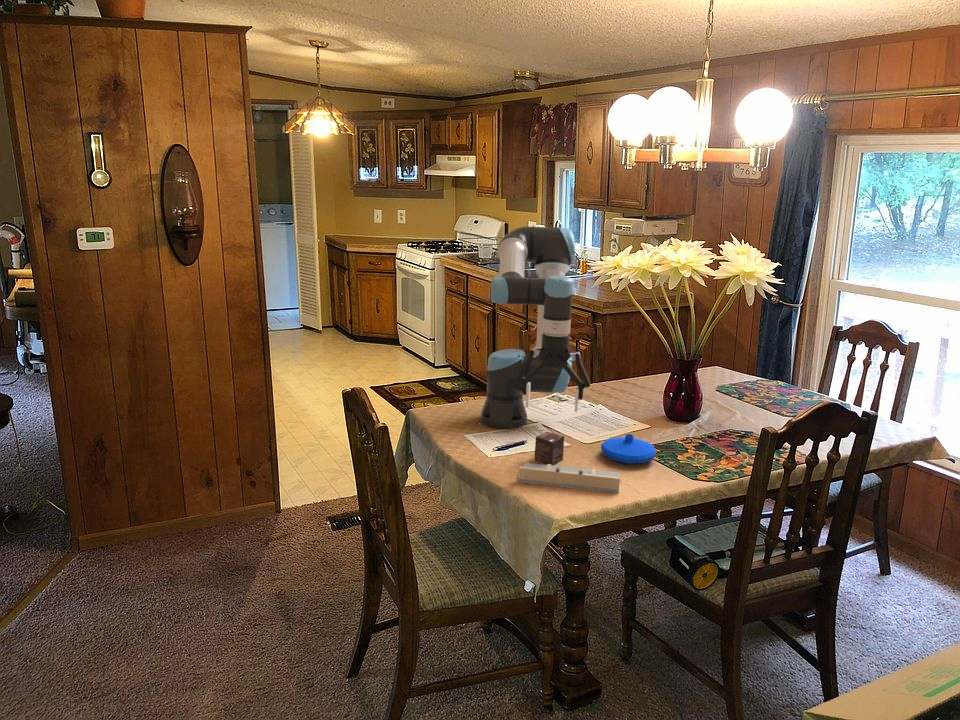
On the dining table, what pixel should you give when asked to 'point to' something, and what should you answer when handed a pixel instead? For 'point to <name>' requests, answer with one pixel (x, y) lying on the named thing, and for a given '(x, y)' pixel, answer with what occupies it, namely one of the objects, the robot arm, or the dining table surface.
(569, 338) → the robot arm
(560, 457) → the box
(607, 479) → the board
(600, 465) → the dining table surface
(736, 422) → the dining table surface
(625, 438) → the blue knobbed lid
